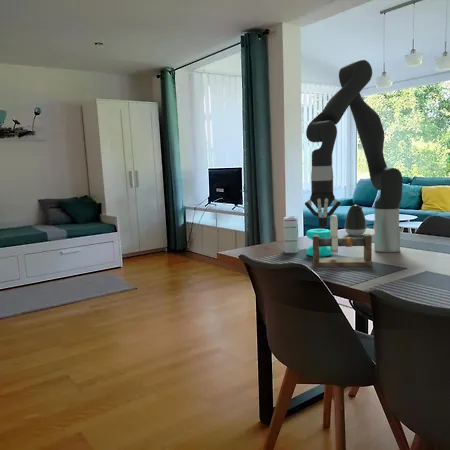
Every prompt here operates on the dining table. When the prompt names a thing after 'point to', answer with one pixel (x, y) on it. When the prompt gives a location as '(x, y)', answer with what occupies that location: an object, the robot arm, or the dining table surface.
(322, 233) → the donuts
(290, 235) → the syrup box
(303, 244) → the dining table surface
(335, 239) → the white tall bar
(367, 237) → the pipe stand
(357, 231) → the dark grey egg shape
